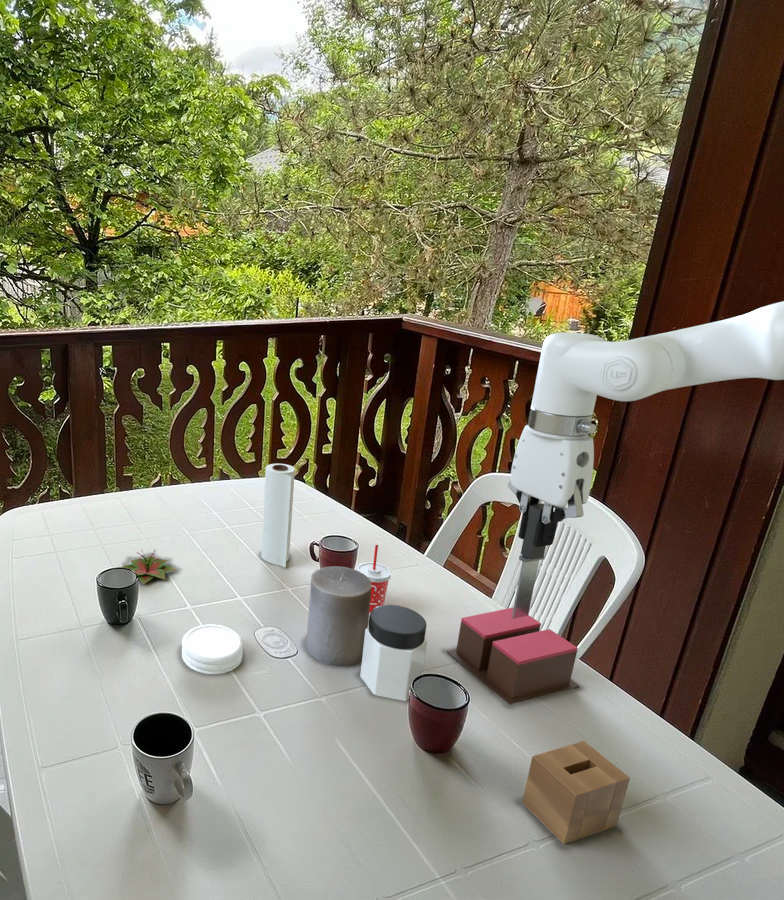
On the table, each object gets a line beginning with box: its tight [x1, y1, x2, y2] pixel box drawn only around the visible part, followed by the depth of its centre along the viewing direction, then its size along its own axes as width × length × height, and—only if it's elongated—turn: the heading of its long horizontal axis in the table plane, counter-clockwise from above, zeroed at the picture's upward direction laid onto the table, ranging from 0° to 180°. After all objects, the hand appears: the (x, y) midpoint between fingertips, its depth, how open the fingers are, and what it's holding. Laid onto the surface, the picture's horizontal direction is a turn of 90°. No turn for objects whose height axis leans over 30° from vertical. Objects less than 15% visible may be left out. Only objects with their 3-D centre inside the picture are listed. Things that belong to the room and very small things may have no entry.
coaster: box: [181, 624, 244, 675], centre depth 104 cm, size 10×10×4 cm
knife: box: [512, 502, 547, 619], centre depth 96 cm, size 4×2×19 cm, turn 108°
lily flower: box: [120, 548, 177, 585], centre depth 132 cm, size 12×12×5 cm
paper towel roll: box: [260, 463, 296, 568], centre depth 134 cm, size 7×6×21 cm
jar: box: [359, 604, 428, 702], centre depth 97 cm, size 9×8×12 cm
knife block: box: [522, 740, 631, 845], centre depth 75 cm, size 8×6×8 cm
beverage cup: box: [356, 544, 392, 617], centre depth 116 cm, size 6×6×14 cm
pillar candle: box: [306, 565, 372, 667], centre depth 105 cm, size 10×10×15 cm
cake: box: [446, 606, 581, 705], centre depth 101 cm, size 14×14×8 cm
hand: (535, 540), depth 95 cm, fingers closed on knife, 2 cm apart
